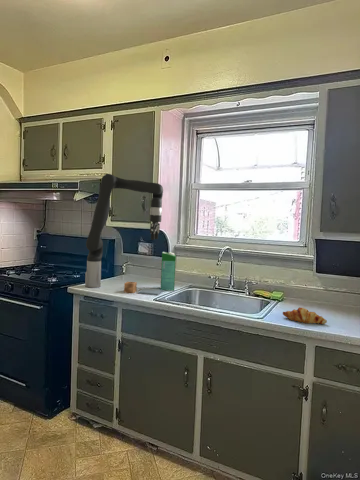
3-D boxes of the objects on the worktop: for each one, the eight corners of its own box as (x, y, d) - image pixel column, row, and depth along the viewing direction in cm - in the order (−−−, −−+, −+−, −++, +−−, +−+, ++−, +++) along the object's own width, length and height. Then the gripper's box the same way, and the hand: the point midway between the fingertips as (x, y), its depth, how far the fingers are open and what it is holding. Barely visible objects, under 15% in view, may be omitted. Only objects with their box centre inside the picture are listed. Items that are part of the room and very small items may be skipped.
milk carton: (174, 290, 235) (175, 253, 233) (160, 290, 235) (162, 252, 233) (174, 287, 244) (175, 251, 242) (161, 287, 244) (162, 251, 242)
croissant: (326, 330, 176) (328, 314, 179) (326, 325, 168) (327, 309, 171) (282, 322, 185) (285, 307, 188) (280, 317, 177) (282, 301, 180)
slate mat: (138, 293, 222) (138, 291, 222) (144, 289, 235) (144, 287, 235) (158, 295, 220) (158, 293, 220) (163, 291, 233) (163, 289, 233)
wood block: (124, 292, 224) (124, 283, 223) (127, 290, 230) (127, 281, 229) (133, 293, 223) (133, 283, 222) (136, 291, 228) (136, 282, 228)
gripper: (153, 214, 239) (151, 238, 240) (147, 214, 225) (145, 239, 226) (164, 215, 237) (162, 239, 238) (158, 214, 223) (157, 240, 224)
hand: (154, 239), depth 232 cm, fingers open, 8 cm apart
